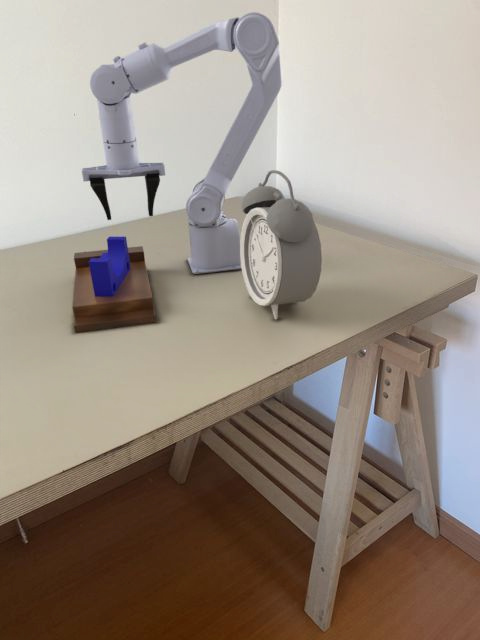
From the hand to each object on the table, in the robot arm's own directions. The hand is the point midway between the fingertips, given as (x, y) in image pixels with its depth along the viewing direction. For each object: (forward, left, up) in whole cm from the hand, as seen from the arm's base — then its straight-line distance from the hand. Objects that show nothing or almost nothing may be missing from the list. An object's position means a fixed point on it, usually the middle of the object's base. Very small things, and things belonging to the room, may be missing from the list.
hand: (130, 216), depth 106 cm
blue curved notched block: (+5, +14, -7) cm, 16 cm away
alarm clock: (-22, +25, -10) cm, 35 cm away
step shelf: (+5, +14, -10) cm, 18 cm away
